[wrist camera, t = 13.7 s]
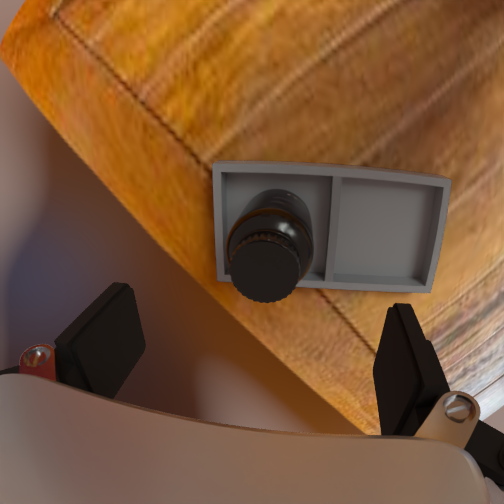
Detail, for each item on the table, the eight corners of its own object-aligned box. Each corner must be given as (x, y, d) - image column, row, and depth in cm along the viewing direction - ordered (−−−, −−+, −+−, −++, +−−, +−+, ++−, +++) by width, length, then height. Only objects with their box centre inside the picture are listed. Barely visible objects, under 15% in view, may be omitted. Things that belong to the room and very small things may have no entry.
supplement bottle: (288, 264, 34) (278, 332, 23) (232, 230, 34) (195, 285, 23) (325, 210, 31) (335, 260, 20) (266, 173, 31) (242, 203, 20)
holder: (442, 175, 28) (451, 179, 26) (423, 282, 33) (430, 293, 30) (219, 160, 31) (212, 163, 29) (222, 270, 36) (217, 281, 34)
